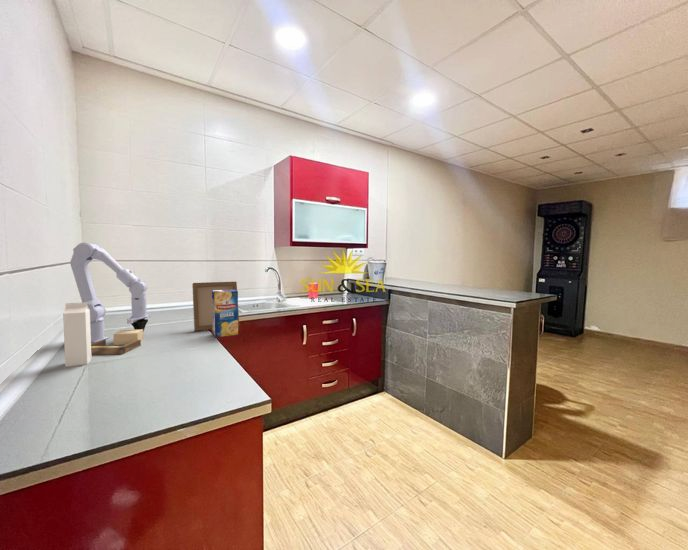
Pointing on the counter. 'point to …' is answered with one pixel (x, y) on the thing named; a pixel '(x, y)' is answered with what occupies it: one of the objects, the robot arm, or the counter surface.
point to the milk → (77, 334)
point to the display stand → (112, 347)
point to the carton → (127, 336)
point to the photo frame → (207, 302)
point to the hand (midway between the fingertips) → (139, 335)
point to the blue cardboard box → (224, 313)
